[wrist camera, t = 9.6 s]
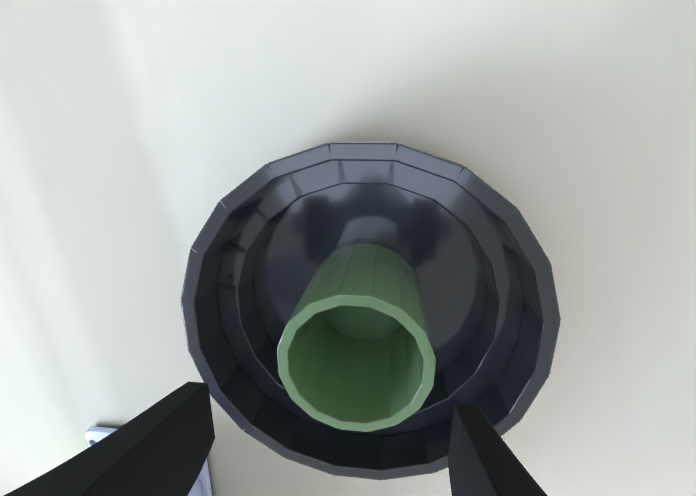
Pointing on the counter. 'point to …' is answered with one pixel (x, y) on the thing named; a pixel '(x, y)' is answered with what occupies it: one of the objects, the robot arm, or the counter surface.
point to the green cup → (359, 341)
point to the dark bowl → (434, 280)
